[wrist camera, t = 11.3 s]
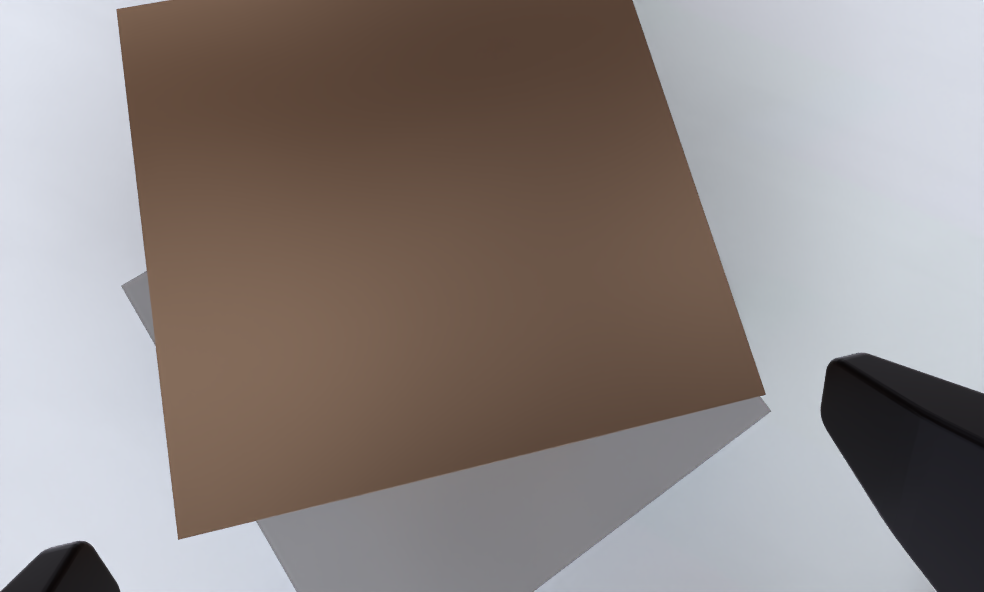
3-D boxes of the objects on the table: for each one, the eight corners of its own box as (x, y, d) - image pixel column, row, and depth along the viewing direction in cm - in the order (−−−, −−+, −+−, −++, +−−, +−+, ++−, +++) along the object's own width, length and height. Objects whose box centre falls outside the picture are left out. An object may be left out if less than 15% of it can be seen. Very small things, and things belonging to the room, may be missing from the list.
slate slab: (383, 676, 18) (368, 716, 15) (171, 312, 20) (121, 285, 17) (726, 419, 20) (771, 411, 17) (499, 117, 22) (504, 64, 19)
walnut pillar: (588, 439, 17) (766, 395, 7) (350, 497, 16) (178, 538, 6) (529, 219, 18) (608, -74, 8) (308, 265, 17) (116, 9, 8)
